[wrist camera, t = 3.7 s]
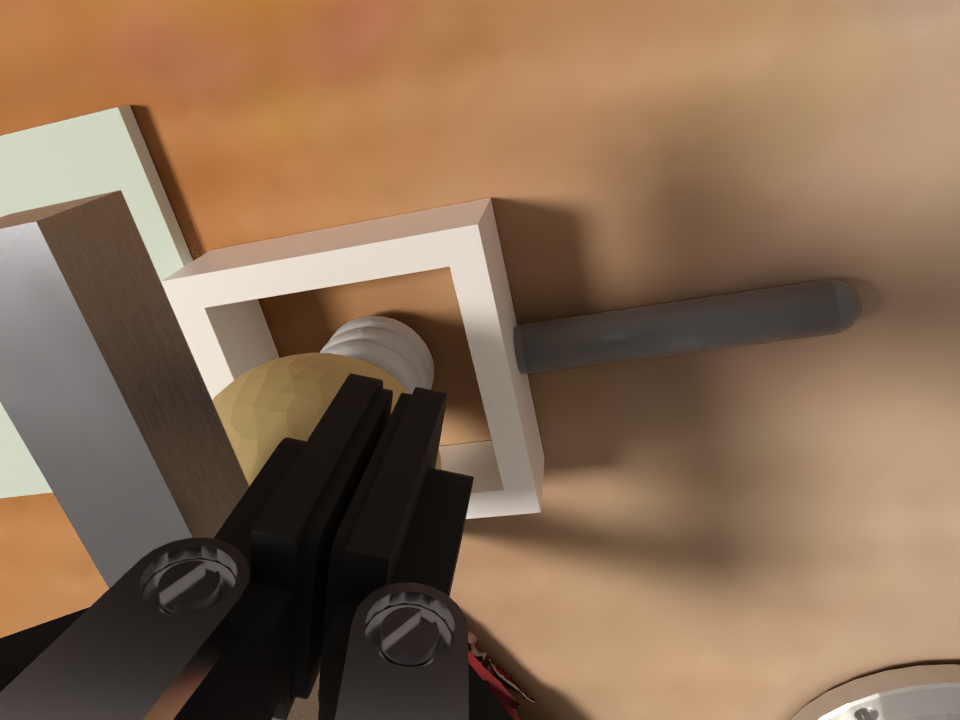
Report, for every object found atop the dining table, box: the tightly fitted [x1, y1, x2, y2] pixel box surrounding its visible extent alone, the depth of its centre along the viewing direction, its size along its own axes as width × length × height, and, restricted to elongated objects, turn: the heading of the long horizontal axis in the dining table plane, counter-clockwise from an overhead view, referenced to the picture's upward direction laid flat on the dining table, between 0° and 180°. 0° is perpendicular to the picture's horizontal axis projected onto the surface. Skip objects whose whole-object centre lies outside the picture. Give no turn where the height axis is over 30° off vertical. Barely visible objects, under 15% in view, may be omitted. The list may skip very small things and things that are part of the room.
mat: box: [0, 105, 211, 498], centre depth 24 cm, size 13×13×1 cm
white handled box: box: [161, 198, 862, 519], centre depth 18 cm, size 20×12×10 cm, turn 102°
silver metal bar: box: [0, 190, 320, 720], centre depth 13 cm, size 3×16×2 cm, turn 12°
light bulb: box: [212, 316, 442, 486], centre depth 19 cm, size 6×6×10 cm
